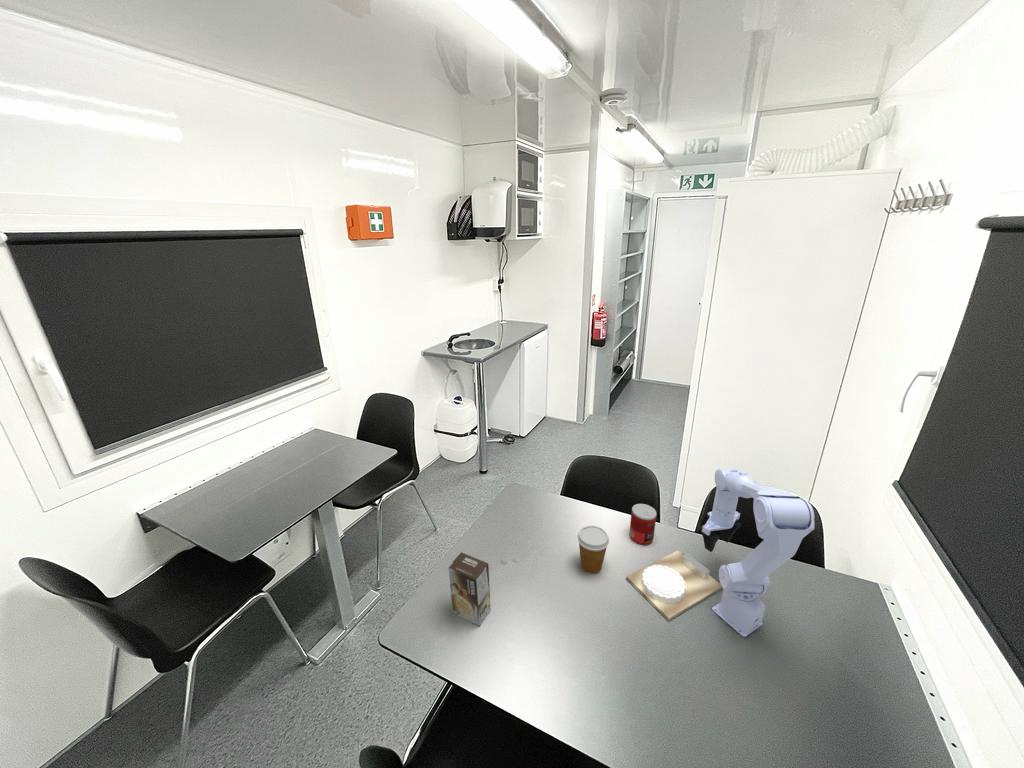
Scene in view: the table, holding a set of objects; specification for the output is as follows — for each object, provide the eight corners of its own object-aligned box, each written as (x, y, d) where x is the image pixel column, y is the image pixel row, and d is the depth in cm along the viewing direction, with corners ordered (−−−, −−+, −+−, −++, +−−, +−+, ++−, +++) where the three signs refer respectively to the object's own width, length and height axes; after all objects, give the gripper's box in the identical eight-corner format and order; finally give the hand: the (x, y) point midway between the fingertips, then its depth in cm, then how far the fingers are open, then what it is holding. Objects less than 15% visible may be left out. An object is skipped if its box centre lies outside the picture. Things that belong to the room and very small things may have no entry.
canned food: (648, 549, 131) (652, 521, 127) (625, 538, 135) (628, 512, 131) (656, 536, 136) (660, 509, 133) (633, 526, 141) (636, 500, 137)
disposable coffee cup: (604, 555, 128) (607, 525, 124) (608, 579, 119) (611, 547, 115) (575, 553, 129) (576, 523, 125) (576, 577, 120) (578, 545, 116)
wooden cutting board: (722, 588, 115) (724, 579, 114) (668, 621, 106) (670, 611, 105) (677, 552, 129) (678, 544, 127) (626, 578, 119) (627, 570, 118)
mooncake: (653, 609, 109) (654, 600, 108) (634, 575, 120) (634, 566, 119) (693, 602, 111) (695, 592, 110) (671, 569, 122) (672, 560, 121)
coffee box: (492, 608, 110) (490, 563, 105) (479, 627, 105) (477, 580, 99) (464, 595, 114) (461, 551, 109) (451, 613, 109) (447, 567, 103)
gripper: (727, 492, 121) (719, 528, 126) (695, 507, 114) (689, 545, 119) (749, 504, 115) (741, 542, 120) (718, 521, 108) (710, 560, 113)
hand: (716, 544), depth 119 cm, fingers open, 7 cm apart
